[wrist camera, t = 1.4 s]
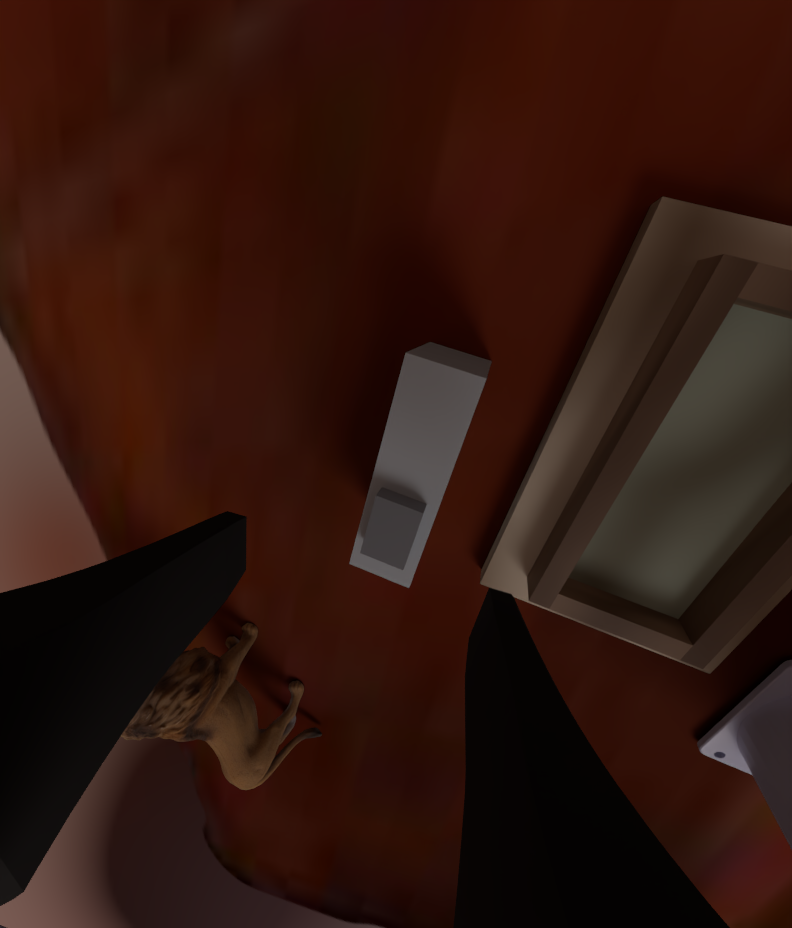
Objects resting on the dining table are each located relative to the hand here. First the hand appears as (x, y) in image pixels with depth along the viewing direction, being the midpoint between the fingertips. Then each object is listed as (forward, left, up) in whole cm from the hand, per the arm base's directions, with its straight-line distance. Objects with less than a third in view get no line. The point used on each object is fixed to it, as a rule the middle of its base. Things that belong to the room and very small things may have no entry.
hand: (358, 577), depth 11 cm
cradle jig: (-11, -3, -10) cm, 15 cm away
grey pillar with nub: (0, 0, -10) cm, 10 cm away
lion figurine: (+8, +22, -11) cm, 25 cm away
